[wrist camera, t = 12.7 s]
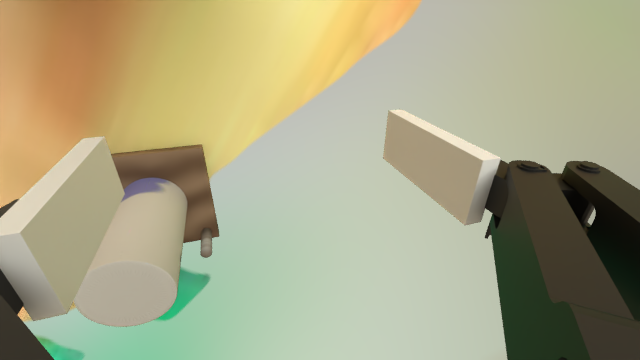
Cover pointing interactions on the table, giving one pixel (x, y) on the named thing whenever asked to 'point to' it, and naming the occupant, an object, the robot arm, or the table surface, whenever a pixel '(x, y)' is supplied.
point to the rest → (184, 172)
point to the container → (137, 257)
